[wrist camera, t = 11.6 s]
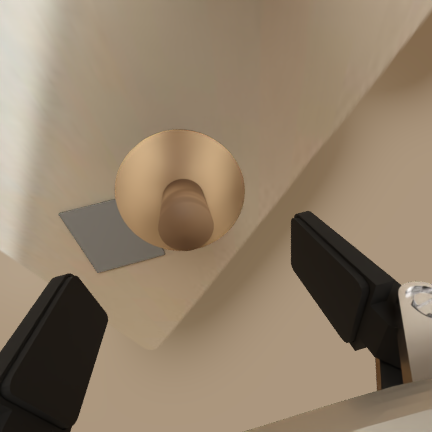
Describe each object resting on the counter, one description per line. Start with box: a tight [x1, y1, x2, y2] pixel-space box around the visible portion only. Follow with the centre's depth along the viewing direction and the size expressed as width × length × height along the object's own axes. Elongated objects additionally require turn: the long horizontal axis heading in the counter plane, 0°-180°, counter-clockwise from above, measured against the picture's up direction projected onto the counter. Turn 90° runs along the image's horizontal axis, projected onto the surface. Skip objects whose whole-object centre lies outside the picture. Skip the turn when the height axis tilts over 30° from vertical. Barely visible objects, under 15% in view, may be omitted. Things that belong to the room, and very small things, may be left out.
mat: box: [59, 199, 165, 273], centre depth 33 cm, size 12×12×1 cm
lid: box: [115, 130, 245, 251], centre depth 16 cm, size 11×11×6 cm
